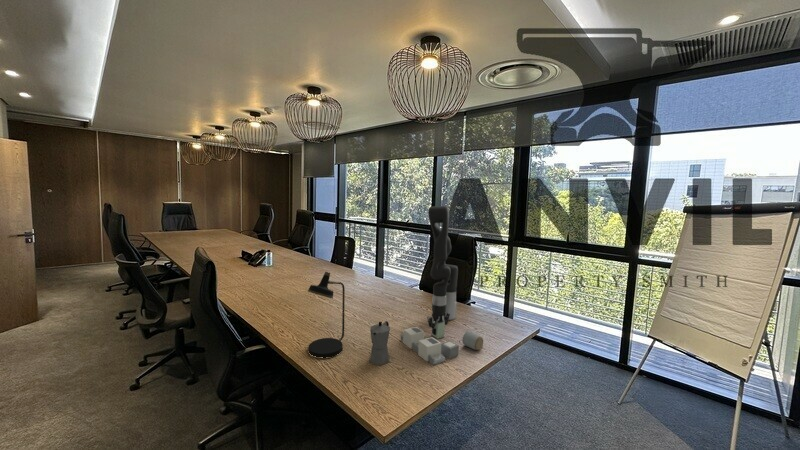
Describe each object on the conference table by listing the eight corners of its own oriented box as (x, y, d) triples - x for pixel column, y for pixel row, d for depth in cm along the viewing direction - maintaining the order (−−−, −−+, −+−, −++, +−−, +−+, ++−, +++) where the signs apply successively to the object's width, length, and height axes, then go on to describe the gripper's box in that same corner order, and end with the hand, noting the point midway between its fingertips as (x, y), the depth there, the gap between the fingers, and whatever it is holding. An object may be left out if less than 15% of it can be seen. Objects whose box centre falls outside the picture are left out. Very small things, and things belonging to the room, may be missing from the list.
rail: (411, 336, 167) (411, 331, 167) (445, 361, 143) (445, 355, 143) (400, 339, 164) (400, 334, 163) (433, 365, 140) (433, 358, 140)
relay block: (448, 350, 154) (449, 340, 154) (458, 355, 150) (458, 344, 149) (440, 354, 150) (440, 343, 150) (450, 359, 146) (450, 348, 145)
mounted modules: (416, 339, 164) (416, 326, 164) (440, 357, 147) (441, 342, 146) (403, 342, 160) (403, 329, 159) (426, 361, 143) (427, 346, 142)
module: (438, 333, 172) (438, 318, 171) (444, 336, 168) (444, 322, 167) (431, 334, 170) (432, 320, 169) (437, 338, 166) (438, 323, 165)
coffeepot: (382, 369, 135) (383, 329, 133) (363, 364, 139) (364, 325, 137) (396, 353, 149) (397, 316, 148) (378, 349, 153) (379, 313, 151)
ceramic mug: (475, 353, 152) (476, 337, 151) (461, 346, 158) (462, 332, 157) (487, 346, 159) (488, 332, 158) (473, 340, 165) (474, 326, 164)
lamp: (298, 353, 147) (298, 272, 143) (332, 336, 165) (333, 264, 161) (323, 364, 138) (323, 278, 134) (355, 345, 156) (357, 269, 153)
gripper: (445, 298, 174) (443, 328, 176) (424, 302, 166) (423, 333, 168) (454, 302, 168) (452, 333, 169) (432, 307, 160) (431, 339, 162)
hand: (437, 333), depth 169 cm, fingers closed on module, 4 cm apart
